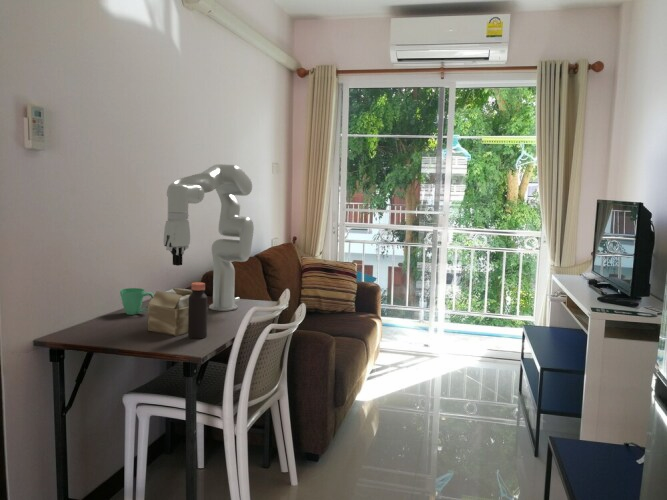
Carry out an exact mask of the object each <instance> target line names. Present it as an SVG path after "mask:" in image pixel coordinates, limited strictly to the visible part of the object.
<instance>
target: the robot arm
mask: <svg viewBox="0 0 667 500" xmlns="http://www.w3.org/2000/svg"><path fill="white" fill-rule="evenodd" d="M214 190H215V191H216V193H217V195H218V198H219V199H220V205H221V206H220V213H219V214H220V215H219V221H218V233H219V235H220V236H223V237H228V238H229V237H230V238H239V240H238V239H227V238H220V239H216V240H215V241H214V242H213V243H212V244H211V254H212V263H213V275H212V276H213V279H212V280H213V281H212V282H213V283H212V286H213V287H212V288H213V290H212V303H211V304H210V305H208V306H209V307H208V308H209V309H210V310H213V311H217V312H218V311H219V312H221V311H223V312H227V311H228V312H229V311H234V310H237V309H238V306H239V305H237V304H236V303H237V302H240V297H239V296H237V297H235V289H236V288H235V287H236V286H235V284H236V282H235V281H236V279H235V278H236V270H235V267H234V264H233V263H232V262H240V263H243V262H247V261H248V260H249V259H250V255H251V252H252V246H253V237H254V230H255V228H254V227H255V225H254V222H253V220H252V218H250V217H249V216H240V212H241V205H240V202H239V200H238V199H237V197H236V196H242V197H245V196H248V195H250V194H251V193H252V190H253V183H252V179H251V178H250V177H249V175H248V174H246V172H245V171H244V170H243V169H242V168H241V167H239V166H238V165H236V164H220V163H219V164H218V163H217V164H213V165H212V166H210V167H208V168H207V169H204V171H201V172H199V173H195V174H192V175H191V174H190V175H188V176H184V177H180V178H178V179H176V180H174V181H173V182H172V183H170V184H169V185H168V186H167V189H166V197H167V220H166V221H165V224H164V230H163V246H164V247H165V250H166V251H168V252H170V254H171V255H172V265H173V266H176V267H177V266H182V265H183V255H184V253H185V251H186V250H187V249H189V248H190V246H189V245H190V244H191V228H190V221H189V216H190V215H189V204H192V205H193V204H195V205H197V204H199V203H201V202H203V200H204V198H205V194H206V193H210V192H212V191H214Z"/></svg>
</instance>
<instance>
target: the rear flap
mask: <svg viewBox="0 0 667 500" xmlns="http://www.w3.org/2000/svg"><path fill="white" fill-rule="evenodd" d="M171 289H173V290H174V291H175V292H176V293H177V294H178V295H182V296H186V295H190V294H192V291H190V290H191V289H189V290H184V289H185V288H180V289H178V287H177V288H176V287H172V288H171Z"/></svg>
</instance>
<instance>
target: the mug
mask: <svg viewBox="0 0 667 500" xmlns="http://www.w3.org/2000/svg"><path fill="white" fill-rule="evenodd" d="M145 291H146V290H145V289H143V288H140V287H139V288H137V287H131V288H130V287H128V288H123V289H122V288H121V289H120V290H119V294H120V297H121V298H120V299H121V302H122V306H123V309H124V312H125V314H126V315H130V316H131V315H134V316H135V315H138V314H139V313H142V312H145V311H146V310H147V311H148V305H147V306H146V307H144V308H142V305H143V300H144V297H146V296H149V297H150V298H151V299H152V298H153V296H154V295H155V293H153V292H152V291H151V292H150V291H148V292H145Z"/></svg>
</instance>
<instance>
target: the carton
mask: <svg viewBox="0 0 667 500" xmlns="http://www.w3.org/2000/svg"><path fill="white" fill-rule="evenodd" d="M190 295H191V294H190ZM190 295H186V296H182V297H181V299H180V300H179V302H178V303H177V305H176V307H175V308H174V309H172V308H166V307H161V306H155V305H150V304H149V303H148V305H147V306H148V309H147V331H149V332H154V333H158V334H163V335H166V336H167V335H168V336H173V337H179V336H181V335H185V334H188V309H189V296H190Z"/></svg>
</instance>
